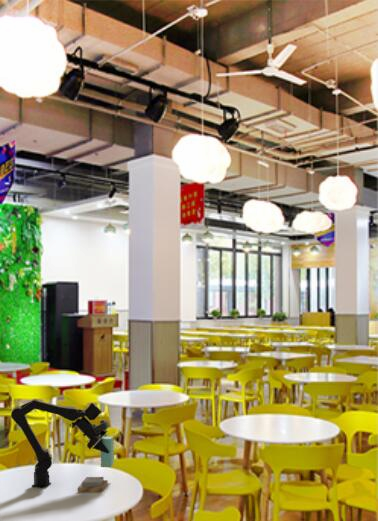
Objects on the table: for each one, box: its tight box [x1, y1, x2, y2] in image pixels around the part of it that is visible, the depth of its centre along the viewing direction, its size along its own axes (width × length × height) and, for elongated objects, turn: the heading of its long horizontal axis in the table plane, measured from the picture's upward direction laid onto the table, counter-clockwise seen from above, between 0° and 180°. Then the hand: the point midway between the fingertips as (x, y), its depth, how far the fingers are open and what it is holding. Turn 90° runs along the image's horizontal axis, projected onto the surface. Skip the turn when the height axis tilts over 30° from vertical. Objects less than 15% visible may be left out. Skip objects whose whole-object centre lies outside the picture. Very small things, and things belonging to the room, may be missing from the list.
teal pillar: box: [100, 436, 115, 468], centre depth 275 cm, size 5×5×13 cm
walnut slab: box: [77, 479, 109, 493], centre depth 263 cm, size 11×11×2 cm
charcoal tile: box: [81, 476, 105, 487], centre depth 263 cm, size 8×8×2 cm
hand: (110, 451), depth 275 cm, fingers closed on teal pillar, 5 cm apart
